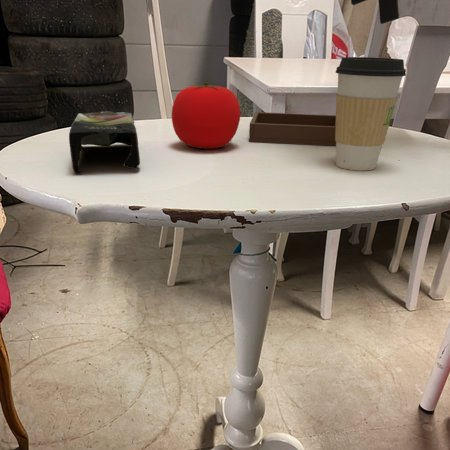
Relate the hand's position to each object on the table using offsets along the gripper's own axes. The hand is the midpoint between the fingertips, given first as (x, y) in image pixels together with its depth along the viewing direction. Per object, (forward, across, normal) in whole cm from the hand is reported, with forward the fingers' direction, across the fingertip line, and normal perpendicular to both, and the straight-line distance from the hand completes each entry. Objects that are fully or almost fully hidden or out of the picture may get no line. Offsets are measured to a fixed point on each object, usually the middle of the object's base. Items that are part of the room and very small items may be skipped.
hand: (376, 12), depth 69 cm
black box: (+14, +24, -37) cm, 46 cm away
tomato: (+14, +7, -30) cm, 33 cm away
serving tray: (+14, -12, -21) cm, 28 cm away
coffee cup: (+21, +3, -4) cm, 22 cm away
